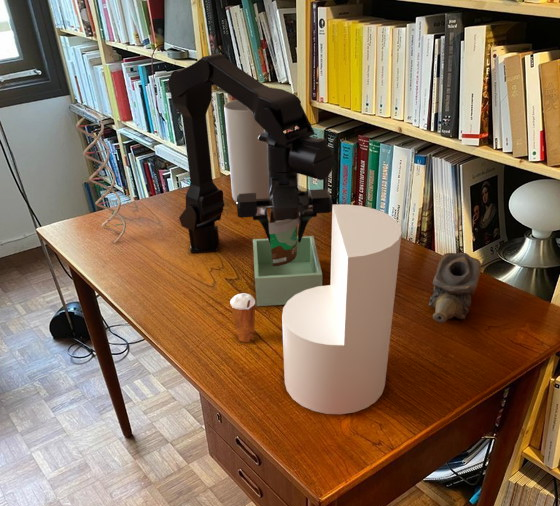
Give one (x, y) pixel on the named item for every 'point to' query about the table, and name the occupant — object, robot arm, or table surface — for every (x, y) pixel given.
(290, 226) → the food container
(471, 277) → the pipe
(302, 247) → the light green open box
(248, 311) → the milkshake
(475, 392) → the table surface
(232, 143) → the cylinder vase
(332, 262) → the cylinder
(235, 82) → the robot arm
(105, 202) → the dna model
